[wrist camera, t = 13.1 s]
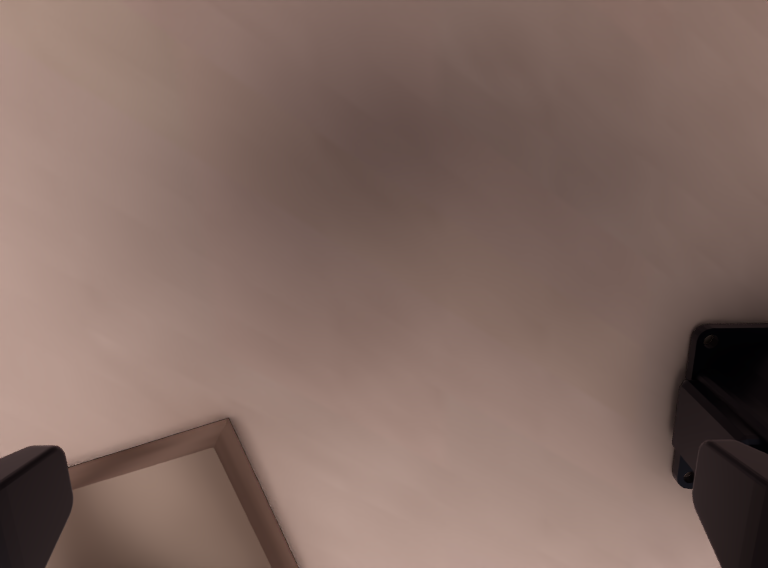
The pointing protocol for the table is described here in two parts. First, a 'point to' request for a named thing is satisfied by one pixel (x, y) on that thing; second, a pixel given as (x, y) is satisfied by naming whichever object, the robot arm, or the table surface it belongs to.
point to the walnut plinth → (172, 508)
